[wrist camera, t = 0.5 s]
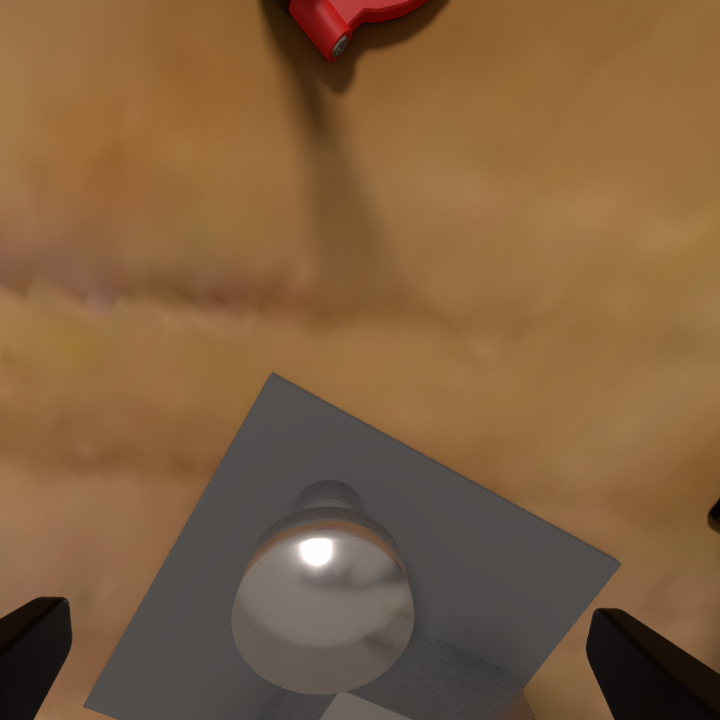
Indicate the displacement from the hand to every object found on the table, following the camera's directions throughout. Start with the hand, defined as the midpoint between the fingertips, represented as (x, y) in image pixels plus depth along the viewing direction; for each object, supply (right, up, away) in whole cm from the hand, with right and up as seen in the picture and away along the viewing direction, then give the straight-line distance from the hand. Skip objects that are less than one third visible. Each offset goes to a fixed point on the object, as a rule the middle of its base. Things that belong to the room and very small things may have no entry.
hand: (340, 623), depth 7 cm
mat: (0, -11, +15) cm, 19 cm away
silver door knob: (-1, -3, +13) cm, 14 cm away
